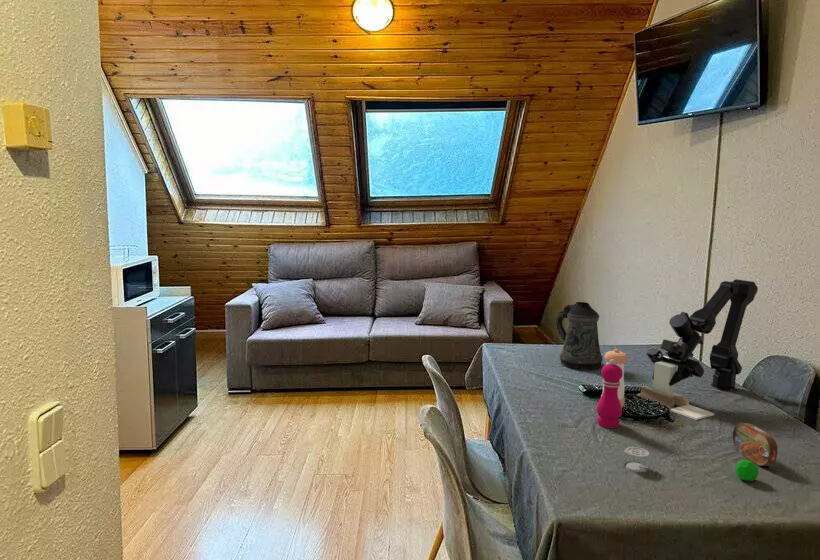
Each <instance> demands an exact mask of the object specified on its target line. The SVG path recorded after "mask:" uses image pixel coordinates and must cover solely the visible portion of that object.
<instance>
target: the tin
mask: <svg viewBox="0 0 820 560" xmlns="http://www.w3.org/2000/svg"><path fill="white" fill-rule="evenodd" d="M732 442H733V446H734V448H735V450H736V452H738V453H739V454H740V455H741V456H743V457H745V458H746V459H747V460H750V461H752V462H753V463H754V464H755V465H756V466H761V467H763V466H767V467H770V466H772V465H773V464H775V463H776V461H777V457H778V445H777V442H776V440H775V438H774V436H773V435H772V434H769V433H768V432H766V431H764V430H763V429H761V428H759V427H758V426H755V425H754V424H752V423H745V422H739V423H737V424H735V426H734V428H733V431H732Z"/></svg>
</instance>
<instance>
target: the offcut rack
mask: <svg viewBox="0 0 820 560" xmlns="http://www.w3.org/2000/svg"><path fill="white" fill-rule="evenodd" d="M637 396H639V397H641V398H645V399H649V400H653V401H657V402H660V403H663V404H664V405H666V406H667V407H668V408H669V409H668V410H670V411H671V409H673V408H675V407H674V406H675V405H676V406H677V407H680V406H684V405H688V404H689V405H690V402H689V400H688V399H687V396H683V395H681V394H678V393H676V392H674V397H673V396H671V395H668V394H665V393H662V392H659V391H656V390H653V388H650V387H647V386H641V389H640V393H637V394H636V397H637Z"/></svg>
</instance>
